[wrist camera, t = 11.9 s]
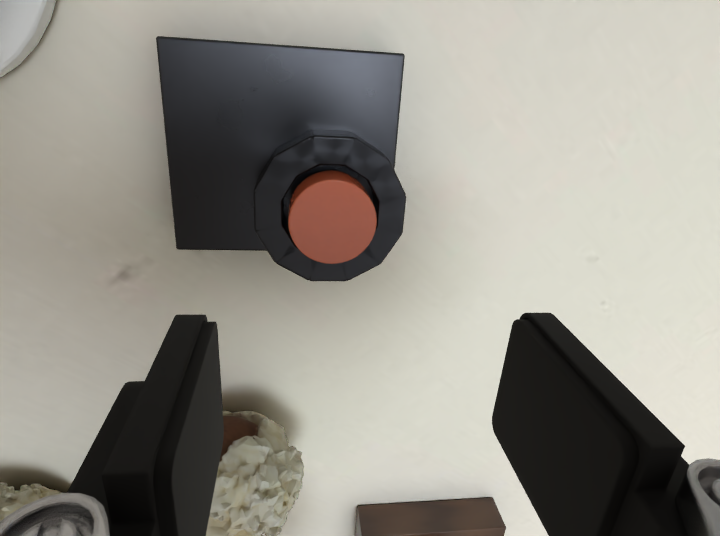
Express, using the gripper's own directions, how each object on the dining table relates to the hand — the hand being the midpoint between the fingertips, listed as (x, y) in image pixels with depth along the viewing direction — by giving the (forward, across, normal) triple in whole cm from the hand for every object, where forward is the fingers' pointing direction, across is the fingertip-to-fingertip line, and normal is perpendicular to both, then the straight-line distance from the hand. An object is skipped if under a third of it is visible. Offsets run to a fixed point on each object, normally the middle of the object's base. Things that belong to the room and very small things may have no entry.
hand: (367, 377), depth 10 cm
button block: (+16, +2, -2) cm, 16 cm away
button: (+12, 0, 0) cm, 12 cm away
